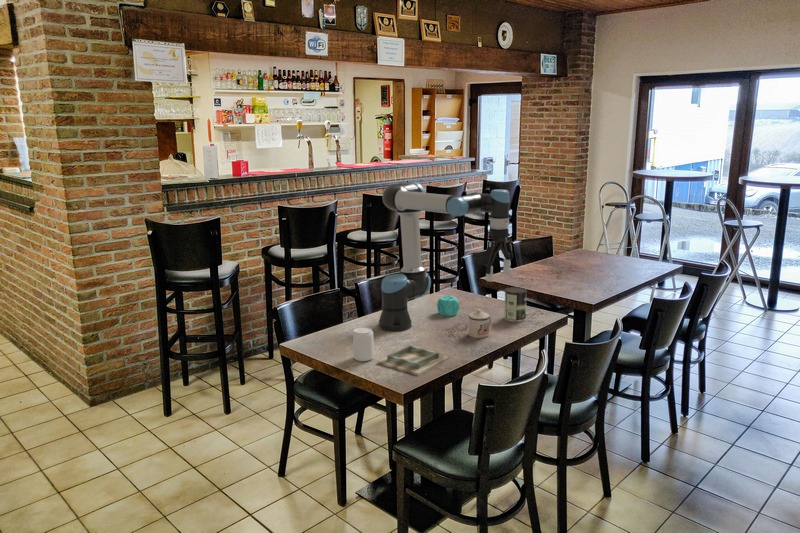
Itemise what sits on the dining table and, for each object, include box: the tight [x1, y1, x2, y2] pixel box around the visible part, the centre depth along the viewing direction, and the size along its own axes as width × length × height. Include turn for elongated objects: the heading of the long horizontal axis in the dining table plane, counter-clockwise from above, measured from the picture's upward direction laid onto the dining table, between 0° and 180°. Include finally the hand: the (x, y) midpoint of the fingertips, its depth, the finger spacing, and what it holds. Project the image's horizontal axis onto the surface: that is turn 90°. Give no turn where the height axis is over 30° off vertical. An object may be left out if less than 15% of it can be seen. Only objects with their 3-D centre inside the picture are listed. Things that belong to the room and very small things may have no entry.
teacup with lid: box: [468, 308, 492, 339], centre depth 268 cm, size 12×9×12 cm
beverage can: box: [352, 326, 375, 362], centre depth 243 cm, size 8×8×12 cm
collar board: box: [377, 344, 449, 377], centre depth 240 cm, size 20×20×3 cm
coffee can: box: [503, 286, 528, 323], centre depth 288 cm, size 10×10×14 cm
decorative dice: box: [436, 295, 460, 317], centre depth 297 cm, size 8×8×8 cm
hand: (498, 277), depth 255 cm, fingers open, 13 cm apart
